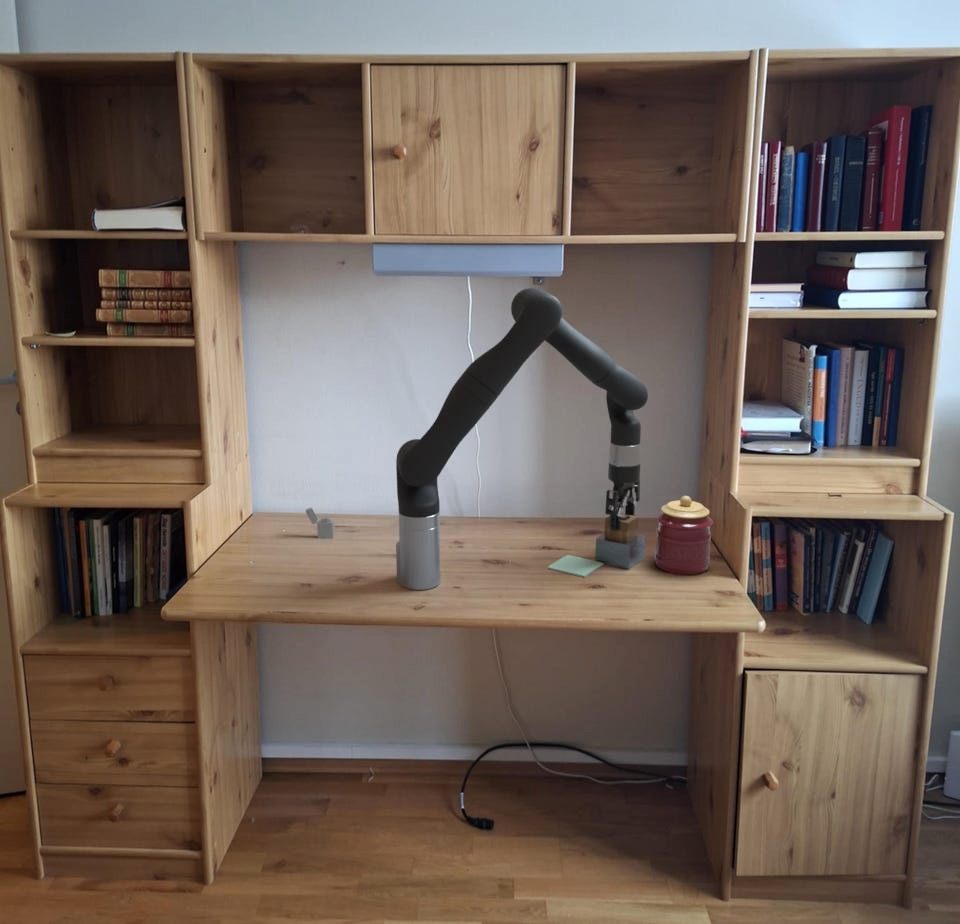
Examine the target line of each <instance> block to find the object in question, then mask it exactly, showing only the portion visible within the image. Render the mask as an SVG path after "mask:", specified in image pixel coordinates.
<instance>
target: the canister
mask: <svg viewBox="0 0 960 924" xmlns="http://www.w3.org/2000/svg"><path fill="white" fill-rule="evenodd" d="M660 510H661V513H659V514H658V515H657V517H656V519H657V522H658V528H656V530H655V531H656V546H655V553H654V561H655V566H656V567H657V568H659V569H660V570H662V571H664V572H668V573H672V574H675V575H688V576H689V575H698V574H702V573H705V572H706V571H707V570H708V569H709V565H710V560H711V558H710V551H711V538H712V533H711V531H710V530H711V526H712V525H713V523H714V522H713V519H712V518H711V517H710V516H709V515H710V509H708V508H707V507H705V506H704V505H703V504H702V503H701V502H697V501H694V500H692V498H691V497H690V496H688V495H683V496H681V497H680V499H679V500H673V501H668V503H666V504H664V505H663V506H661V509H660Z"/></svg>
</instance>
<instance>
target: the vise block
mask: <svg viewBox="0 0 960 924" xmlns="http://www.w3.org/2000/svg"><path fill="white" fill-rule="evenodd" d="M624 514H625V513H622V514H620V520H624V521H626V520H627V519H628V515H624ZM645 550H646V535H645V534H642V533H638V534H637V536H636V537H635V538H634V539H632V540H631V541H629V542H628V543H626V542H621V541H616V540H611V539H606V538H605V532H604V533H603V534H601V535H600V536H598V537H596V538H595V560H594V561H597V562H602V563H604V565H609V566H612V567H617V568H621V569H626V570H630V569H632V568H633V567H635V566H636V565H637V564H639V563H640V562H642V561H643V560H644V559H645V552H646V551H645Z"/></svg>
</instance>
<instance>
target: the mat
mask: <svg viewBox="0 0 960 924" xmlns="http://www.w3.org/2000/svg"><path fill="white" fill-rule="evenodd" d="M604 565H605V564H604V563H602V562H597V561H595V560H593V559H588V558H584V557H578V556H575V555H570V554H566V555H565V556H562V557H561V558H559V559H558V560H557V561H555V562H553V563H552V564H550V565H548V566H547V570H553V571H556V572H560V573H565V574H569V575H573V576H577V577H581V578H586V577H588V576H589V575H591V574H592V573H594V572H595V571H596V570H597V569H599V568H601V567H602V566H604Z"/></svg>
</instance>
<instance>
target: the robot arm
mask: <svg viewBox="0 0 960 924" xmlns="http://www.w3.org/2000/svg"><path fill="white" fill-rule="evenodd" d="M510 311H511V316H512V318H513V320H514V323H513V324H512V326H511V328H509V331H508V332H507V333H506V334H505V335H504V336H503V338H501V340H499V342H498V343H496V344H495V345H494V346H493V347H491V348H489V350H487V351H486V352H484V353H483V354H481V355H480V356H479V357H477V358H476V359H475V360H474V361H472V362H471V363H470V365H468V367H467V368H466V369H465V370H464V372H462V374H461V375H460V376H459V378H458V379H457V381H456V382H455V383H454V384H453V386H452V388H451V389H450V391H449V393H447V394H448V395H447V396H446V398H445V400H444V402H443V405H442V407H441V409H440V411H439V413H438V415H437V417H436V418H435V420H434V422H433V423H432V425H431V426H430V428H429V429H428V430H427V431H426V432H425V433H424V435H423V436H422V437H421V438H420V439H418V438H415V439H410V440H408V441H405V442H404V443H403V444H402V445H401V446H400V448H399V449H398V451H397V455H396V459H395V462H396V463H395V466H396V467H395V468H396V469H395V470H396V493H397V495H396V496H397V503H398V529H399V530H398V535H399V537H398V539H399V540H398V541H397V542H396V543H395V556H396V557H395V558H396V562H395V563H396V565H395V566H396V583H398V584H400V585H401V586H402V587H404V588H406V589H409V590H417V591H418V590H419V591H420V590H421V591H422V590H429V589H430V590H431V589H433V588H436V587H438V586H439V585H440V584H441V537H440V536H441V528H440V519H441V518H440V511H441V509H440V507H441V506H440V497H439V489H438V488H439V487H438V477H439V476H440V474H441V473H442V470H443V469H444V468H445V467H446V465H447V463H448V461H449V460H450V458H451V456H452V455H453V453H454V452H455V450H456V449H457V447H458V446H459V445H460V444H461V442H462V441H463V439H464V438H465V437H466V436H467V435H468V434H469V433H470V431H472V430H473V428H474V427H475V426H476V425H477V423H478V422H479V421H480V420H481V419H482V417H483V416H484V415H485V414H486V413H487V412H488V410H489V409H490V407H492V405H493V404H494V402H496V400H497V399H498V398H499V397H500V395H501V394H502V393H503V391H504V389H505V388H506V387H507V386H508V384H509V383H510V382H511V381H512V379H513V378H514V377H515V375H516V374H517V373H518V372H519V371H520V369H521V368H522V366H523V365H524V363H526V361H527V360H528V359H529V358H530V357H531V355H532V354H533V353H534V352H535V351H536V350H537V349H538V348H539V347H540V346H542V344H543V343H544V342H546V343H548V344H549V345H550V346H551V347H552V348H554V349H555V350H556V351H558V353H560V355H562V356H563V357H564V358H565V360H567V361H568V362H569V364H571V365H572V366H573V367H574V368H575V369H576V370H577V371H579V372H580V373H581V374H582V375H583V376H584V377H586V379H588V381H590V382H591V383H592V384H593V385H595V386H596V387H598V388H599V389H602V390H603V391H604V390H605V391H606V395H605V397H606V398H605V399H606V406H607V411H608V412H607V413H608V417H609V422H610V441H609V442H610V444H609V451H608V474H607V478H608V480H609V481H611V482H612V483H613V487H612V489H607V490H606V495H605V496H606V498H605V515H609V516H610V529H611V530H614V531H618V530H619V529H620V513H622V509H624V508H625V509H624V514H628V515H633V516H636V515H635V511H636V510H635V509H636V506H637V503H638V502H640V496H641V494H640V493H641V489H640V487H641V482H640V481H641V479H640V478H641V460H642V459H641V457H642V455H641V454H642V450H641V434H642V433H641V430H642V426H641V422H640V420H639V419H638V418H637V417H636V416H635V414H634V411H637V410H640V409H641V408H643V407H644V406H645V405H647V404H646V403H647V401H648V398H649V392H648V389H647V386H646V385H645V384H644V383H643V381H641V380H640V379H639V378H638V377H636V376H635V375H634V374H633V373H631V372H629V371H628V370H627V369H625V368H624V367H622V366H620V365H619V364H618V363H616V361H615V360H614V359H612V357H610V356H609V355H608V354H607V353H606V352H605V351H604V350H603V349H602V348H601V347H599V345H598V344H596V343H594V342H593V341H592V340H590V339H589V338H588V337H586V336H585V335H583V334H582V333H581V332H580V331H578V330H577V329H575V328H574V326H572V325H571V324H569V323H568V322H567V321H566V320H565V319H564V318H563V307H562V303H561V302H560V300H559V299H558V298H557V297H556V296H554V295H553V294H551V293H549V292H547V291H544V290H542V289H539V288H536V287H535V288H534V287H529V288H524V289H522V290H520V291H519V292H517V293H516V294H515V296H514V297H513V299H512V302H511V305H510Z"/></svg>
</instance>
